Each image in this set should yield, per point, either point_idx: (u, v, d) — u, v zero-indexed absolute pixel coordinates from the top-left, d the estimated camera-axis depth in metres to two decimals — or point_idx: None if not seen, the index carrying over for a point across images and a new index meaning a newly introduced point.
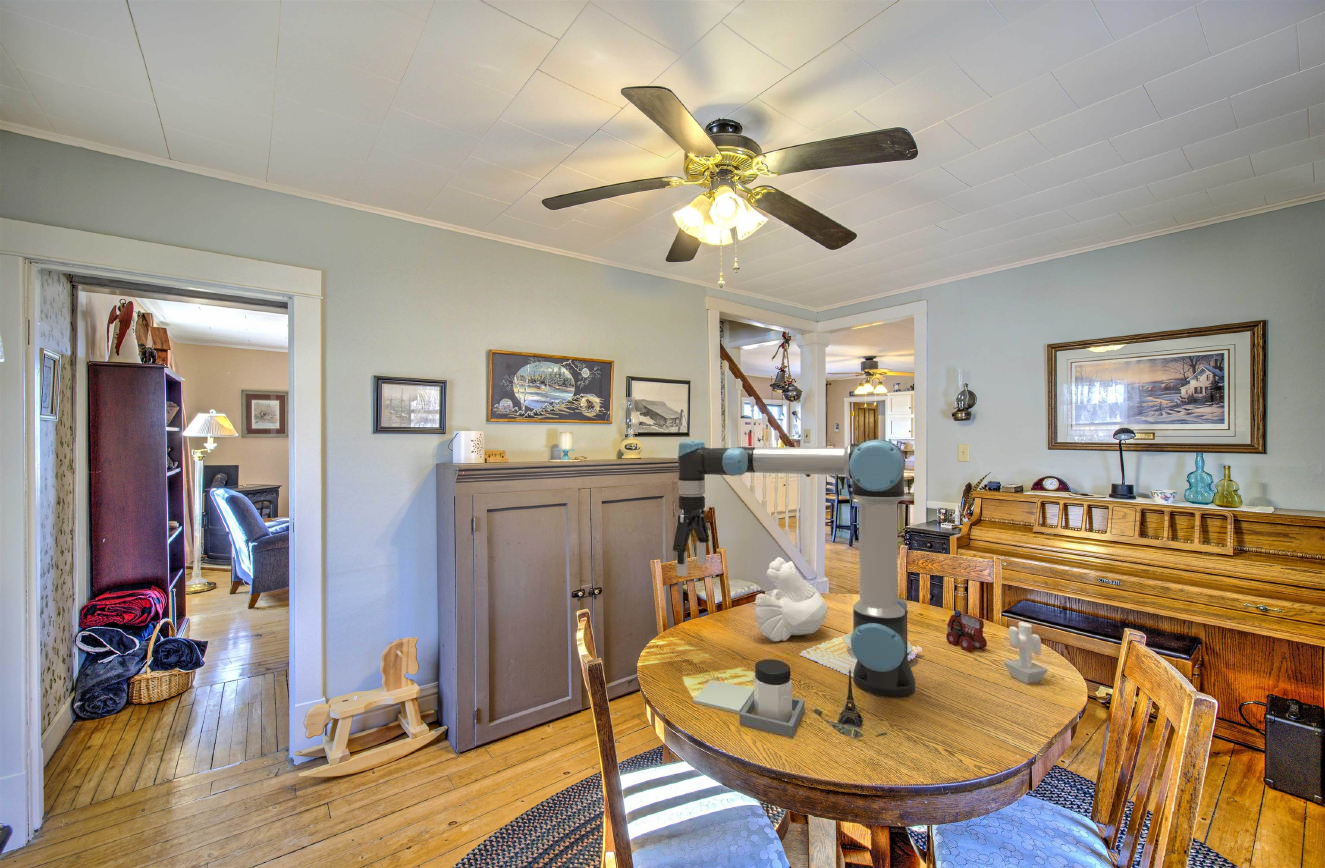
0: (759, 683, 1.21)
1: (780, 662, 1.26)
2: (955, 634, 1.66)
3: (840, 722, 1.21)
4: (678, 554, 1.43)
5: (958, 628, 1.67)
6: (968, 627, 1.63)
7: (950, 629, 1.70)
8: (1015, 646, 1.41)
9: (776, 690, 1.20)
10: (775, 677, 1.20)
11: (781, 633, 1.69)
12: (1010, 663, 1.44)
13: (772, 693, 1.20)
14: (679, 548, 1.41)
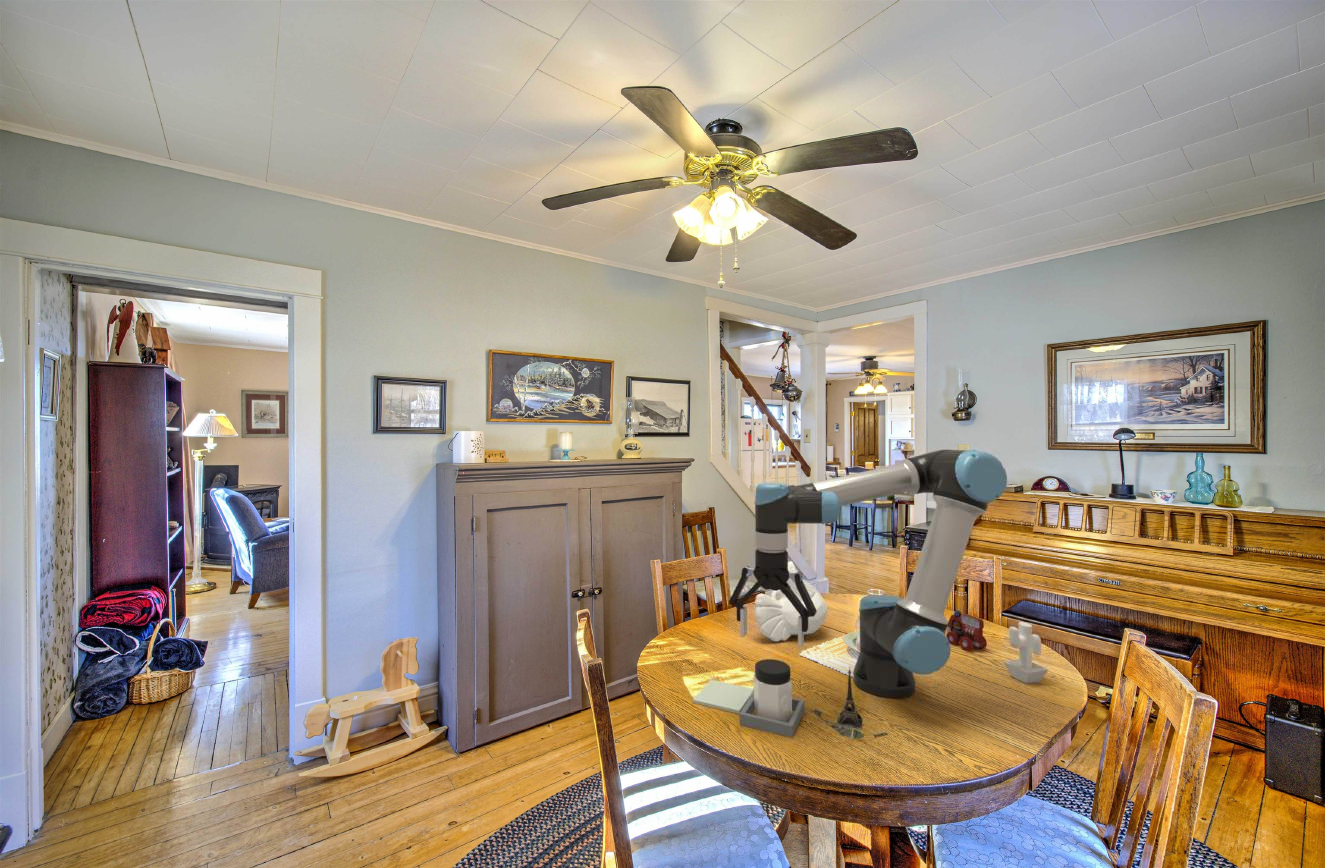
0: (759, 683, 1.21)
1: (780, 662, 1.26)
2: (955, 634, 1.66)
3: (840, 722, 1.21)
4: None
5: (958, 628, 1.67)
6: (968, 627, 1.63)
7: (950, 629, 1.70)
8: (1015, 646, 1.41)
9: (776, 690, 1.20)
10: (775, 677, 1.20)
11: (781, 633, 1.69)
12: (1010, 663, 1.44)
13: (772, 693, 1.20)
14: None
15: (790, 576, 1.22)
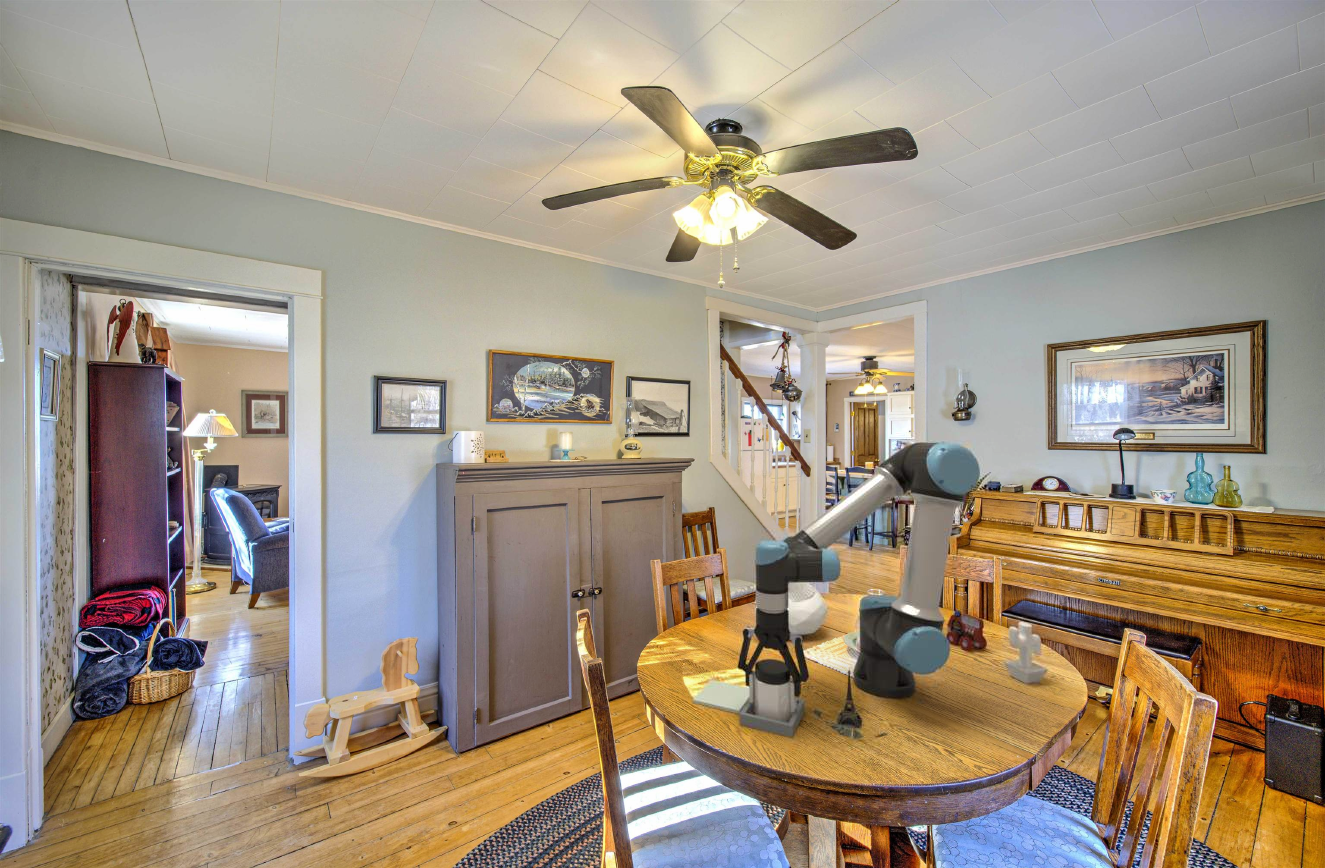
0: (759, 683, 1.21)
1: (780, 662, 1.26)
2: (955, 634, 1.66)
3: (839, 723, 1.21)
4: None
5: (958, 628, 1.67)
6: (968, 627, 1.63)
7: (950, 629, 1.70)
8: (1015, 646, 1.41)
9: (776, 690, 1.20)
10: (775, 677, 1.20)
11: None
12: (1010, 663, 1.44)
13: (772, 693, 1.20)
14: None
15: (791, 638, 1.22)
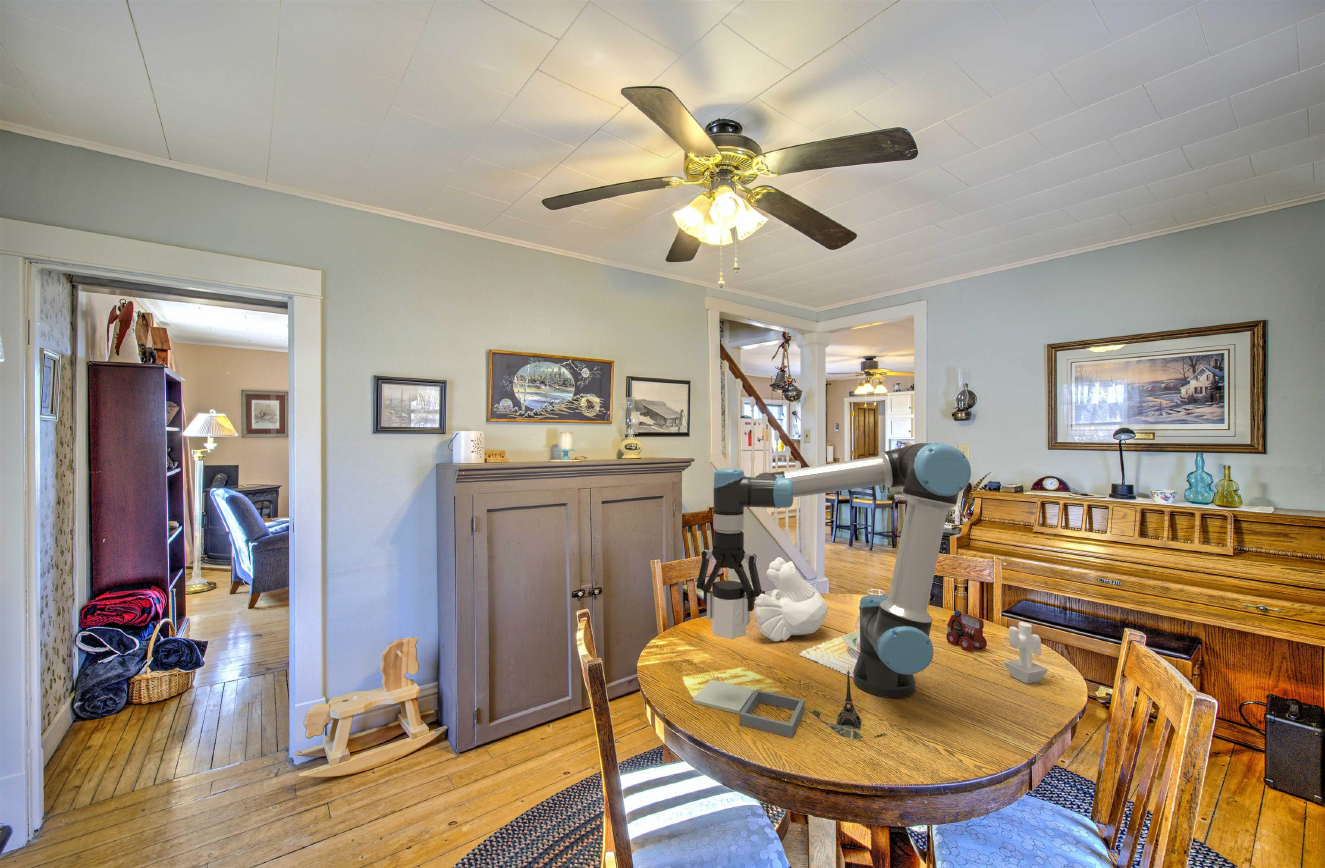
0: (715, 599, 1.30)
1: (736, 582, 1.34)
2: (955, 634, 1.66)
3: (839, 723, 1.20)
4: None
5: (958, 628, 1.67)
6: (968, 627, 1.63)
7: (950, 629, 1.70)
8: (1015, 646, 1.41)
9: (730, 604, 1.28)
10: (730, 592, 1.28)
11: (781, 633, 1.69)
12: (1010, 663, 1.44)
13: (727, 607, 1.28)
14: None
15: (745, 556, 1.30)
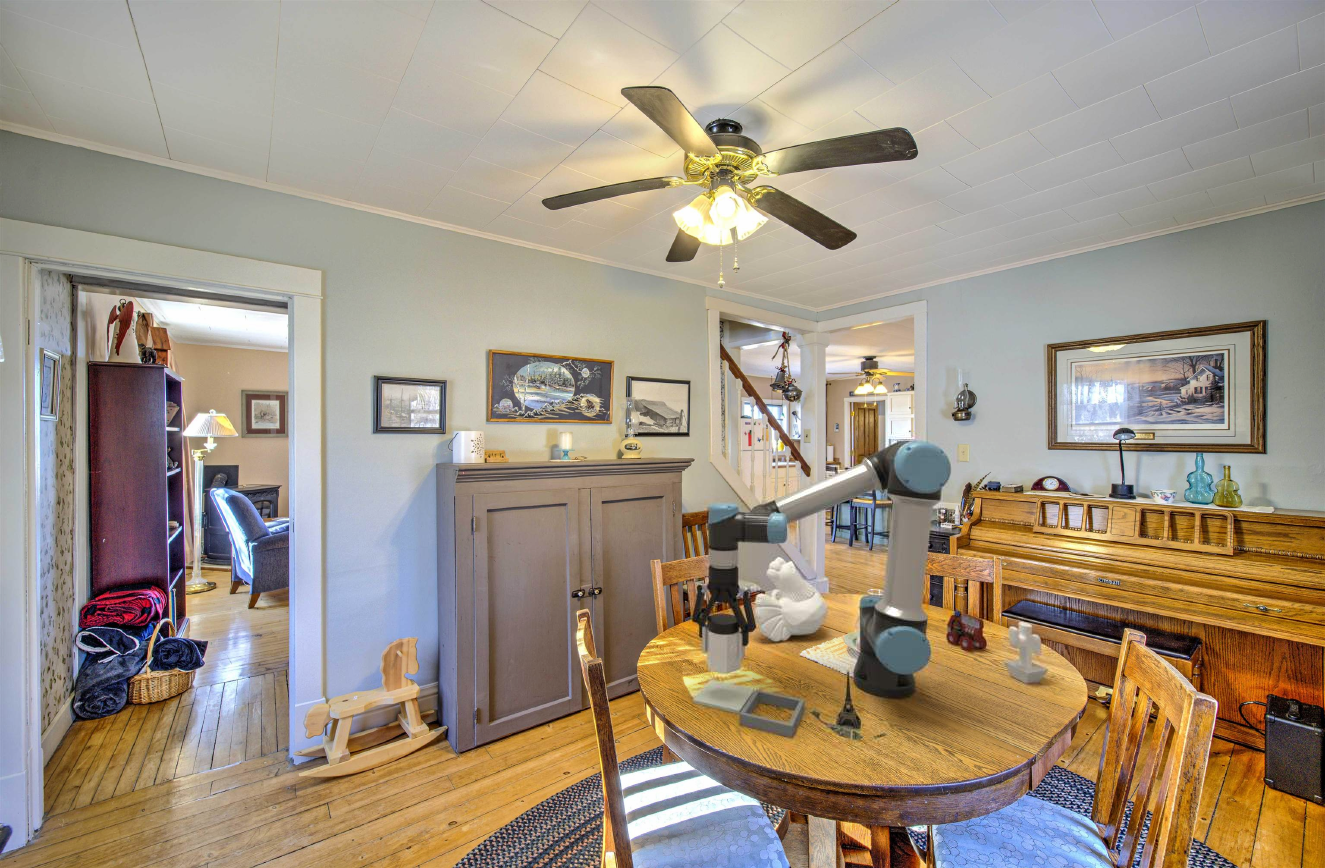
0: (710, 633, 1.31)
1: (731, 616, 1.36)
2: (955, 634, 1.66)
3: (838, 724, 1.20)
4: None
5: (958, 628, 1.67)
6: (968, 627, 1.63)
7: (950, 629, 1.70)
8: (1015, 646, 1.41)
9: (725, 639, 1.29)
10: (724, 627, 1.30)
11: (781, 633, 1.69)
12: (1010, 663, 1.44)
13: (721, 642, 1.30)
14: None
15: (740, 592, 1.31)
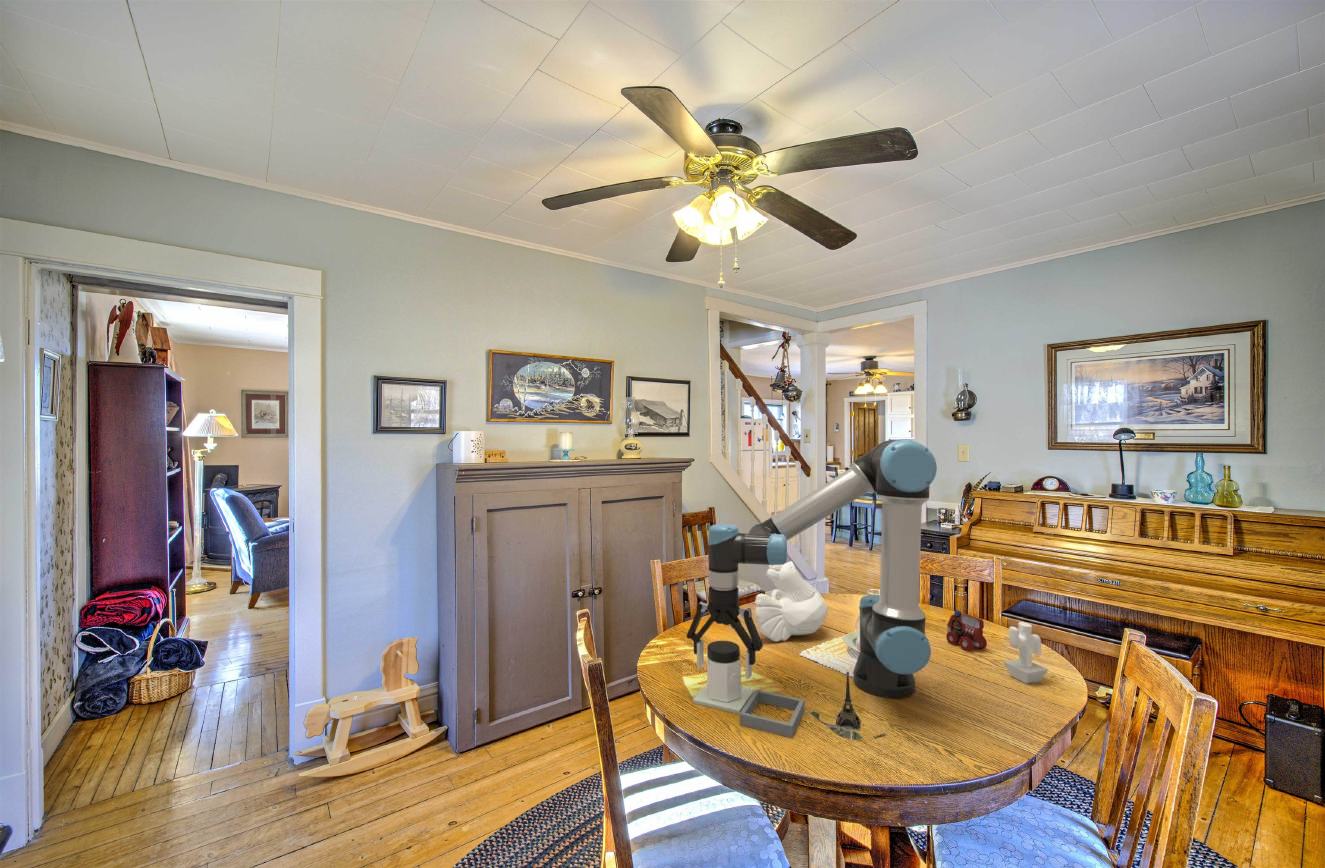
0: (710, 662, 1.31)
1: (731, 643, 1.36)
2: (955, 634, 1.66)
3: (838, 724, 1.20)
4: None
5: (958, 628, 1.67)
6: (968, 627, 1.63)
7: (950, 629, 1.70)
8: (1015, 646, 1.41)
9: (725, 668, 1.29)
10: (724, 656, 1.30)
11: (781, 633, 1.69)
12: (1010, 663, 1.44)
13: (722, 671, 1.30)
14: None
15: (740, 612, 1.31)
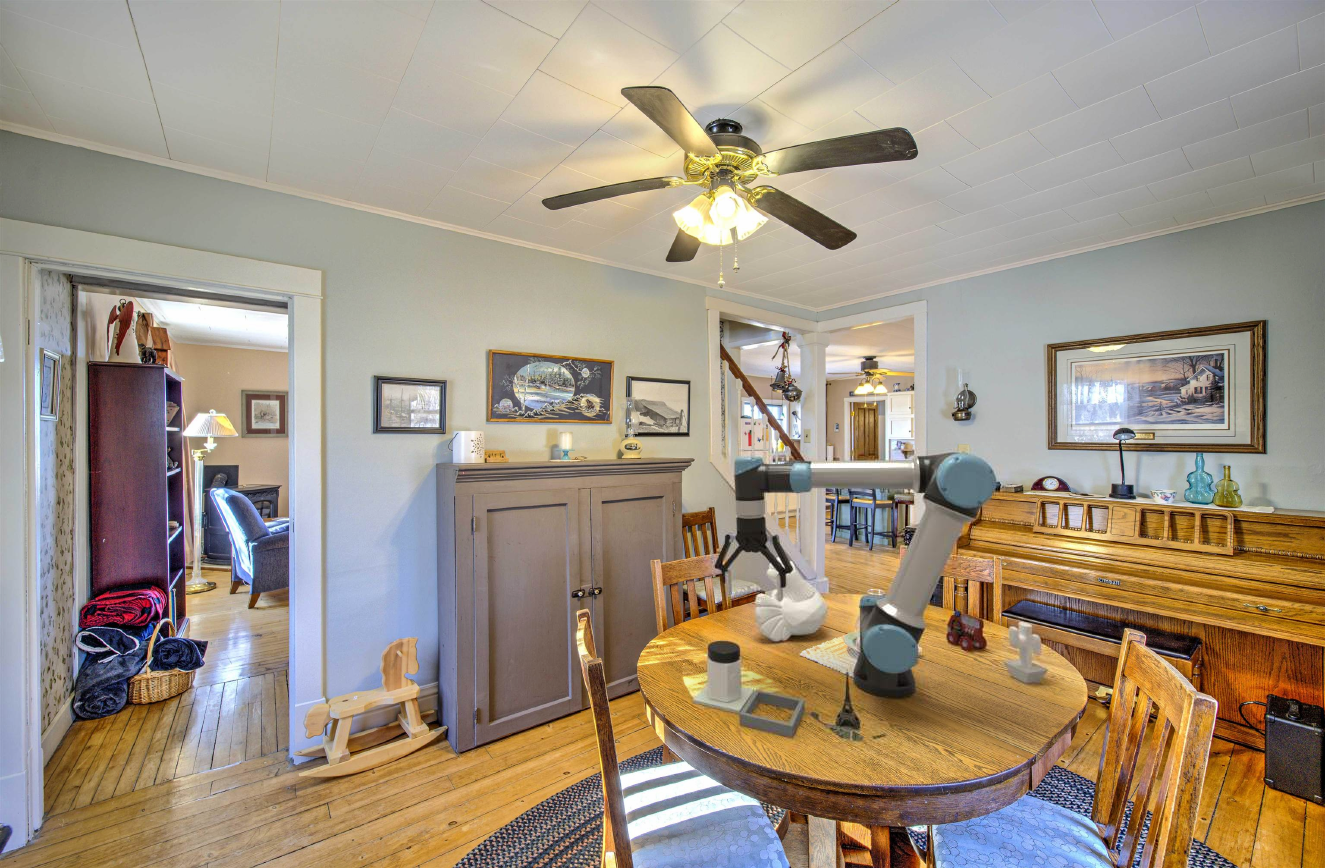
0: (710, 662, 1.31)
1: (731, 643, 1.36)
2: (955, 634, 1.66)
3: (838, 725, 1.20)
4: None
5: (958, 628, 1.67)
6: (968, 627, 1.63)
7: (950, 629, 1.70)
8: (1015, 646, 1.41)
9: (725, 668, 1.29)
10: (725, 656, 1.30)
11: (781, 633, 1.69)
12: (1010, 663, 1.44)
13: (722, 671, 1.30)
14: None
15: (768, 539, 1.35)
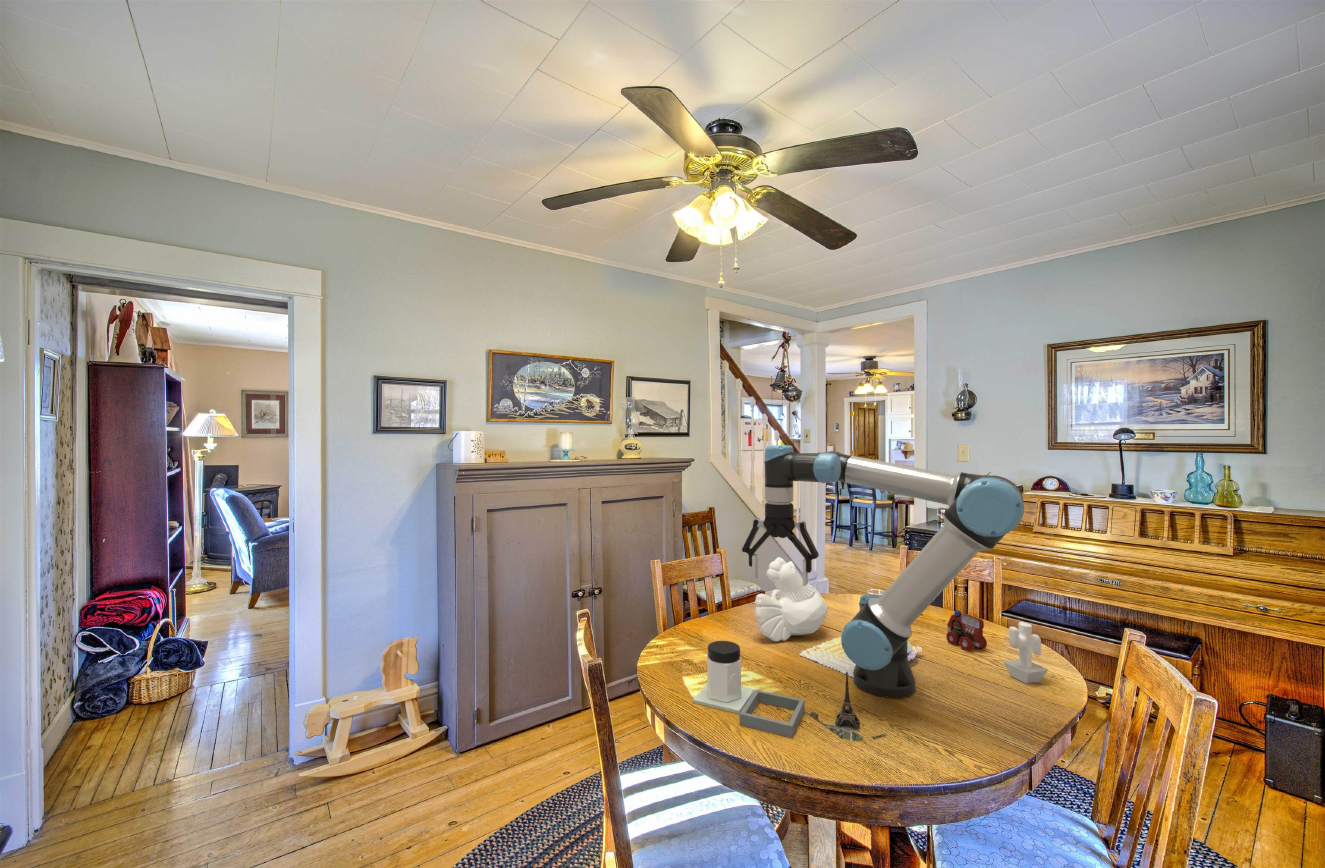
0: (710, 662, 1.31)
1: (731, 643, 1.36)
2: (955, 634, 1.66)
3: (838, 725, 1.20)
4: None
5: (958, 628, 1.67)
6: (968, 627, 1.63)
7: (950, 629, 1.70)
8: (1015, 646, 1.41)
9: (725, 668, 1.29)
10: (725, 656, 1.30)
11: (781, 633, 1.69)
12: (1010, 663, 1.44)
13: (722, 671, 1.30)
14: None
15: (795, 525, 1.40)
